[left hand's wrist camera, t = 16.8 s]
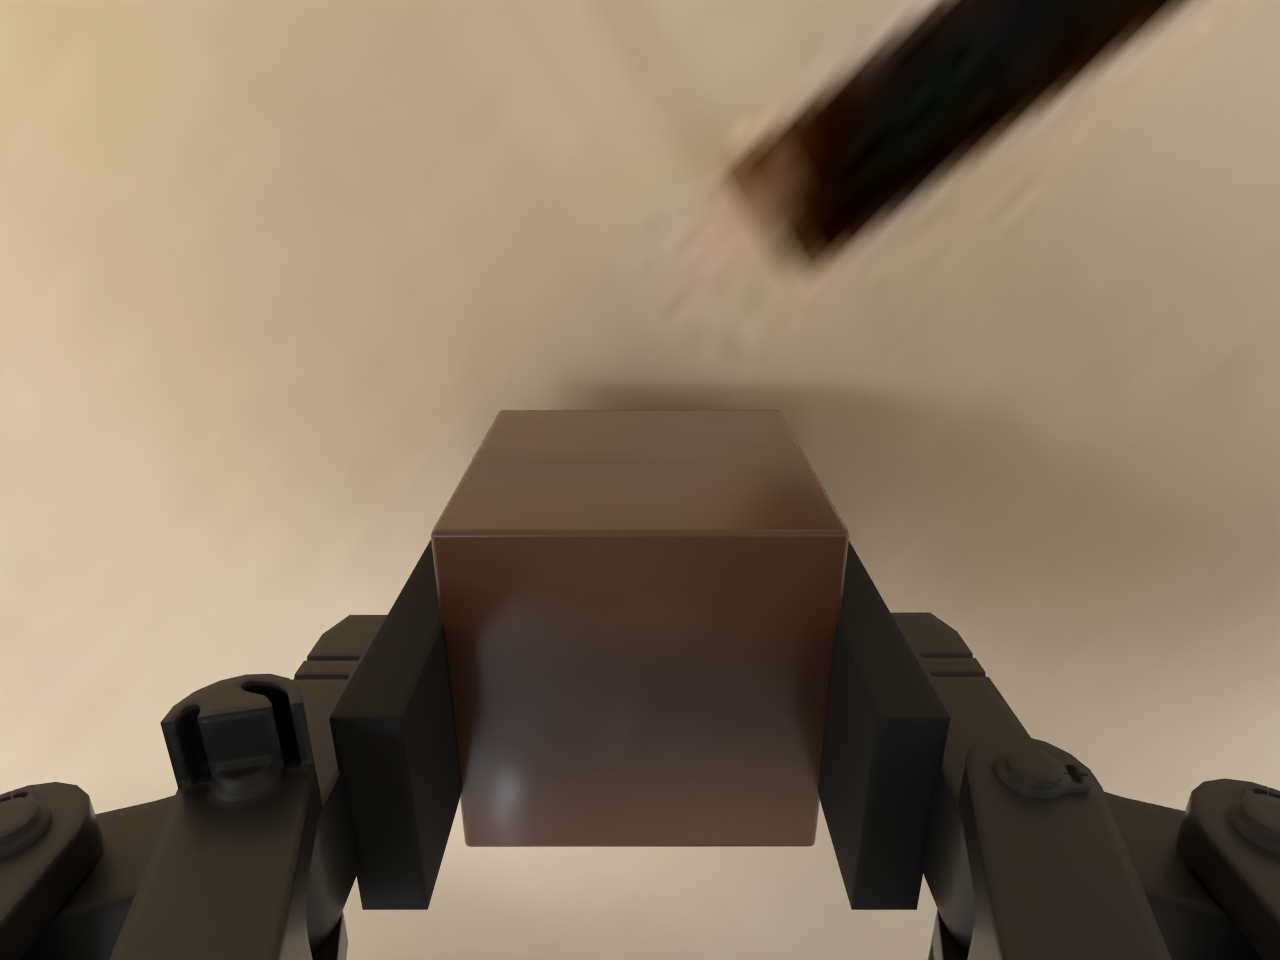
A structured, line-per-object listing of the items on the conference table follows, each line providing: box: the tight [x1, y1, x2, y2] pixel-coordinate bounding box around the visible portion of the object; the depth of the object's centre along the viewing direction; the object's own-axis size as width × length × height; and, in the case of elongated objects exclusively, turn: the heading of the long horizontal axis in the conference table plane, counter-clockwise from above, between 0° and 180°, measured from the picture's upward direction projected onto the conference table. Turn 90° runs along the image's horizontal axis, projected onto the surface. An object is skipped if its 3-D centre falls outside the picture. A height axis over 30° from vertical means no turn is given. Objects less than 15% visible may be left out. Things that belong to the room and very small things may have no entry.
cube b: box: [431, 410, 849, 847], centre depth 12 cm, size 5×5×5 cm
